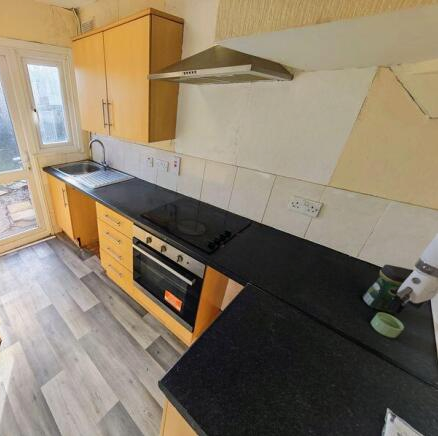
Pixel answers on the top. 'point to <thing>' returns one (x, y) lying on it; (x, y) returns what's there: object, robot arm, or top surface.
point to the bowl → (387, 325)
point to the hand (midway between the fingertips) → (402, 307)
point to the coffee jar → (386, 287)
